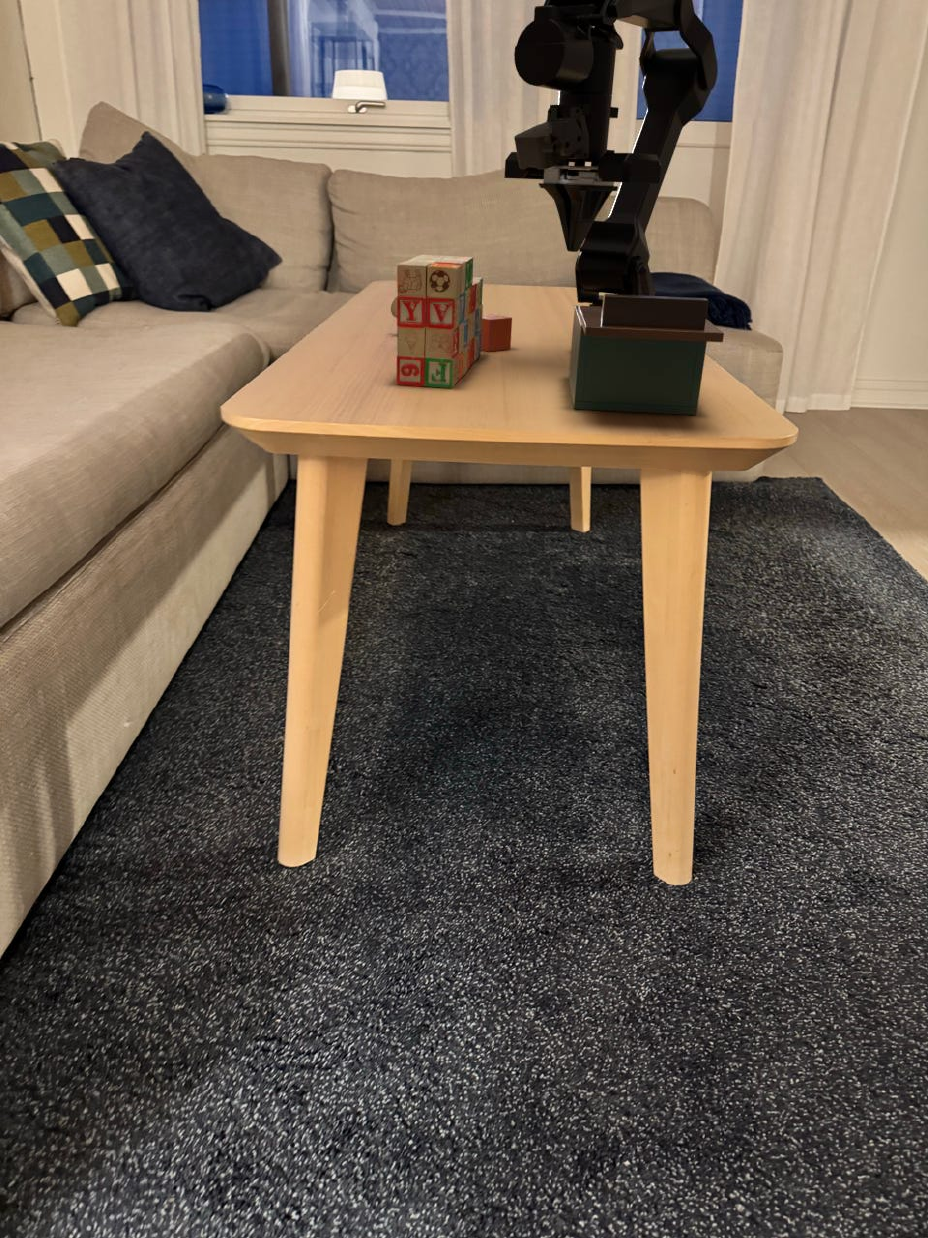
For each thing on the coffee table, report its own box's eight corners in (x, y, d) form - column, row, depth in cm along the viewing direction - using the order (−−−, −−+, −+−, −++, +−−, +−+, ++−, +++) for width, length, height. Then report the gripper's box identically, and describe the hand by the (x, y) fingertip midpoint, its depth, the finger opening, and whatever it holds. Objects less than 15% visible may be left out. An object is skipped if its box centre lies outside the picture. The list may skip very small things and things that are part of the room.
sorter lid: (577, 313, 93) (580, 279, 92) (695, 318, 93) (700, 284, 91) (584, 335, 80) (588, 296, 78) (722, 342, 79) (728, 302, 78)
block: (490, 344, 123) (491, 313, 121) (510, 349, 120) (512, 317, 118) (468, 347, 120) (469, 315, 119) (488, 351, 118) (489, 319, 116)
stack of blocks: (433, 351, 116) (435, 248, 111) (481, 354, 115) (486, 250, 110) (395, 384, 97) (396, 261, 92) (453, 388, 96) (457, 264, 91)
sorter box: (568, 379, 103) (574, 305, 100) (674, 384, 103) (684, 310, 99) (573, 409, 90) (581, 324, 86) (696, 415, 89) (708, 330, 86)
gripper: (471, 92, 99) (466, 246, 106) (601, 84, 86) (586, 260, 93) (543, 100, 106) (534, 244, 112) (673, 94, 93) (654, 257, 100)
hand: (572, 251), depth 104 cm, fingers closed
